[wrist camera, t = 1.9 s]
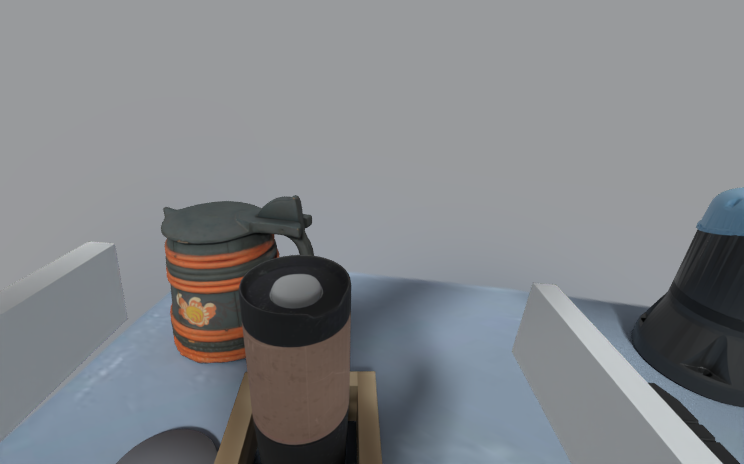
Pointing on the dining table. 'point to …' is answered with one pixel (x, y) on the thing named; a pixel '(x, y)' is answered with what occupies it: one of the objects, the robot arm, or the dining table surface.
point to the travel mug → (298, 357)
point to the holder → (363, 409)
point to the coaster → (173, 449)
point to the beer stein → (221, 268)
